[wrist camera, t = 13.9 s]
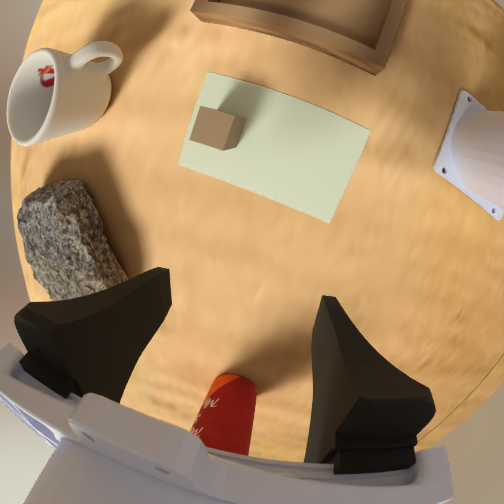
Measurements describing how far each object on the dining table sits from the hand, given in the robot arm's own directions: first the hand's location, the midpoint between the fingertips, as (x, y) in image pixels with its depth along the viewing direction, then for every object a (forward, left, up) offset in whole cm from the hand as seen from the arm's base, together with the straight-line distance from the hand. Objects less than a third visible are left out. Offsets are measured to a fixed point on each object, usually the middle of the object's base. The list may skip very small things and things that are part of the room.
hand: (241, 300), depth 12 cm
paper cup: (-4, +21, -11) cm, 24 cm away
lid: (+2, -6, -11) cm, 13 cm away
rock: (+18, +9, -11) cm, 23 cm away
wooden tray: (+4, -21, -10) cm, 23 cm away
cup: (+19, -7, -11) cm, 23 cm away
